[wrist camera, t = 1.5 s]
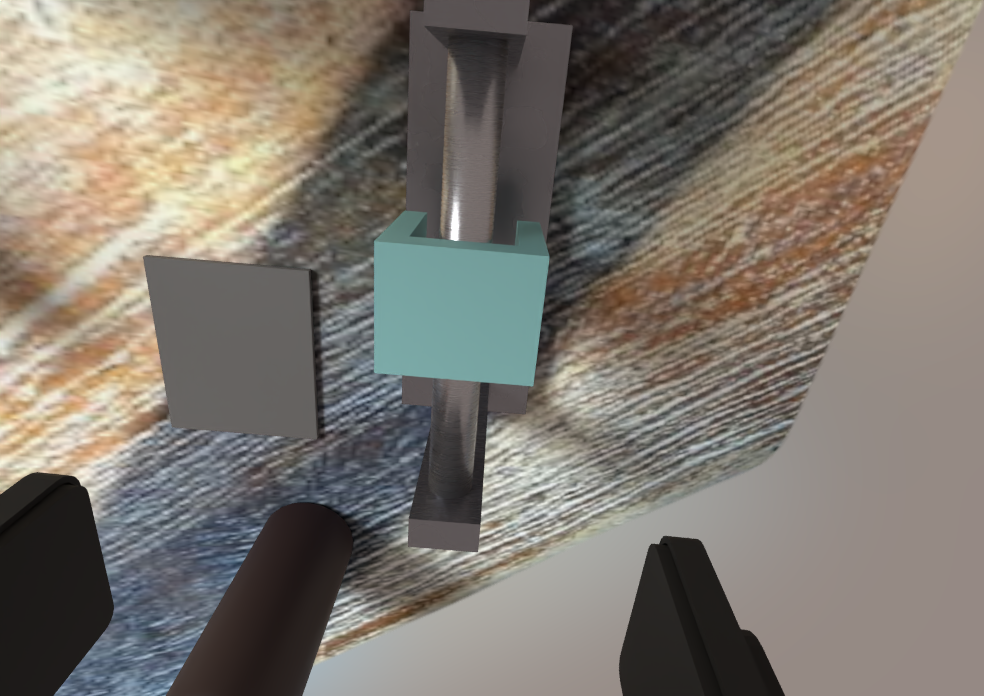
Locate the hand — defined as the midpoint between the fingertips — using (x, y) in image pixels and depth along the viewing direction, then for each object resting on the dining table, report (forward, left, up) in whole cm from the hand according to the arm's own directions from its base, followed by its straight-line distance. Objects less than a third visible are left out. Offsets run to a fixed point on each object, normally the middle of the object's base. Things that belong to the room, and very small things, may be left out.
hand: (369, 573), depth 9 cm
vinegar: (+24, -11, -26) cm, 37 cm away
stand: (0, 0, -26) cm, 26 cm away
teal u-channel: (0, 0, -18) cm, 18 cm away
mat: (+9, -15, -26) cm, 31 cm away
